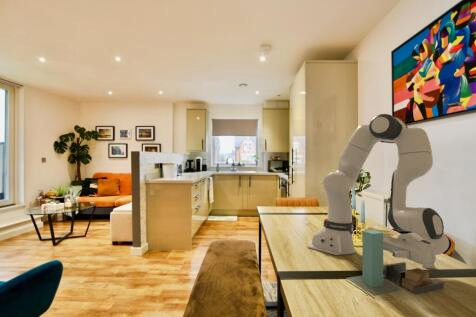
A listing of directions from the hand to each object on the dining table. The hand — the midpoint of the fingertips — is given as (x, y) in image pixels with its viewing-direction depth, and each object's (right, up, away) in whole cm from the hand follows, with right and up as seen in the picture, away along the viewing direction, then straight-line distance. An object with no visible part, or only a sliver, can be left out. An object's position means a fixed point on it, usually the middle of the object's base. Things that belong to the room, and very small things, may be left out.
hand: (381, 249), depth 85 cm
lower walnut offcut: (+10, -11, -3) cm, 16 cm away
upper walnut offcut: (+10, -9, -3) cm, 14 cm away
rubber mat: (-4, -12, -2) cm, 13 cm away
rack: (+10, -12, 0) cm, 16 cm away
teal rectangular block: (-4, -11, -1) cm, 12 cm away
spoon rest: (+28, -14, +23) cm, 39 cm away
